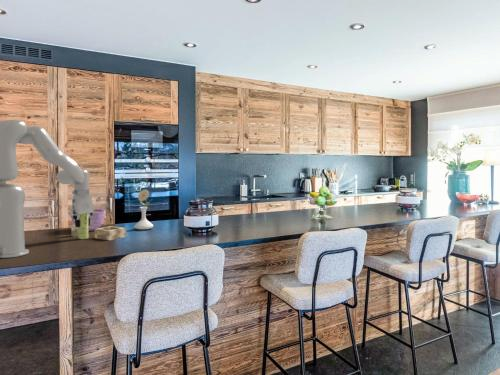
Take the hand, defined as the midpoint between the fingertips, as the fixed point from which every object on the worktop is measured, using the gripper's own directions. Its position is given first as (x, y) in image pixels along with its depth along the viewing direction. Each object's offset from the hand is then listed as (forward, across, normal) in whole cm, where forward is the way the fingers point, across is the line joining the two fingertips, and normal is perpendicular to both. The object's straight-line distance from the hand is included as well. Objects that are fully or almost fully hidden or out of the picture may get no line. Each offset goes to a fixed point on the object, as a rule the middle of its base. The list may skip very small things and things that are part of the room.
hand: (82, 225), depth 193 cm
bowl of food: (+7, +17, +20) cm, 27 cm away
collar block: (+7, +9, -10) cm, 16 cm away
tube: (+7, 0, 0) cm, 7 cm away
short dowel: (+7, +2, +10) cm, 12 cm away
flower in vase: (+7, +36, -8) cm, 38 cm away
